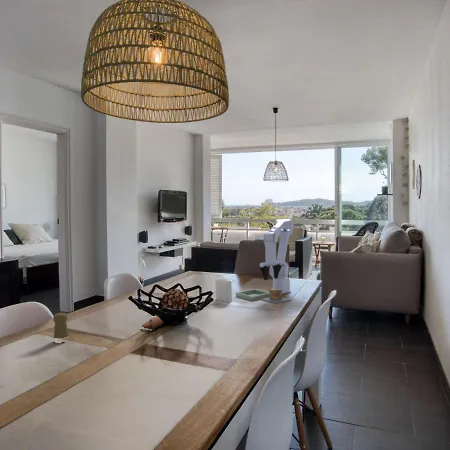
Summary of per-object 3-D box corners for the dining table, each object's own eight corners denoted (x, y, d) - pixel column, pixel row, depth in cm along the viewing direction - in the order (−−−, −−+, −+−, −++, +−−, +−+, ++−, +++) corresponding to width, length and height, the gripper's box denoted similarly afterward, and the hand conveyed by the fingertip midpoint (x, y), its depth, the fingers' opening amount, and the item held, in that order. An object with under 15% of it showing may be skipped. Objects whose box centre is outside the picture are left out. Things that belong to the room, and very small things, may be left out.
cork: (73, 339, 156) (71, 311, 156) (62, 344, 150) (60, 316, 150) (60, 337, 158) (59, 310, 158) (49, 343, 152) (48, 315, 152)
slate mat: (276, 297, 216) (276, 295, 216) (291, 301, 207) (291, 299, 207) (261, 300, 209) (261, 298, 209) (276, 304, 201) (276, 302, 201)
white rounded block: (214, 299, 214) (214, 277, 214) (221, 298, 217) (220, 276, 216) (226, 303, 206) (226, 279, 206) (233, 301, 209) (232, 278, 208)
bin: (254, 293, 228) (254, 288, 228) (271, 297, 217) (271, 292, 217) (236, 297, 219) (235, 292, 219) (252, 301, 208) (252, 296, 208)
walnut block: (275, 297, 212) (274, 288, 211) (281, 299, 208) (281, 289, 208) (269, 298, 209) (269, 289, 209) (276, 300, 205) (276, 290, 205)
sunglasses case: (159, 317, 182) (165, 306, 181) (171, 326, 180) (177, 315, 178) (135, 329, 166) (141, 317, 164) (147, 339, 164) (154, 327, 162)
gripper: (266, 255, 206) (266, 281, 206) (285, 253, 215) (285, 278, 215) (256, 254, 212) (257, 279, 212) (276, 253, 221) (276, 277, 221)
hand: (270, 279), depth 214 cm, fingers open, 7 cm apart
